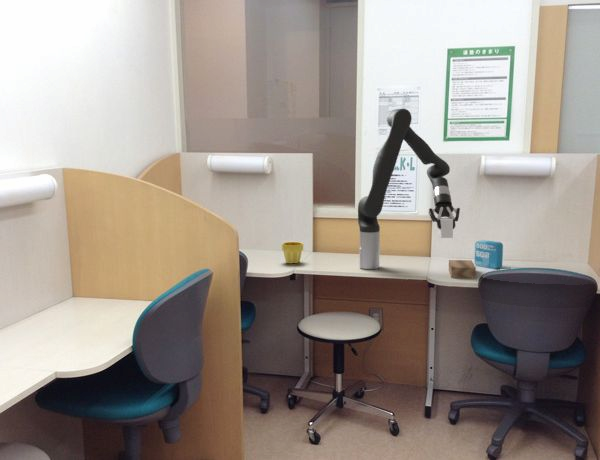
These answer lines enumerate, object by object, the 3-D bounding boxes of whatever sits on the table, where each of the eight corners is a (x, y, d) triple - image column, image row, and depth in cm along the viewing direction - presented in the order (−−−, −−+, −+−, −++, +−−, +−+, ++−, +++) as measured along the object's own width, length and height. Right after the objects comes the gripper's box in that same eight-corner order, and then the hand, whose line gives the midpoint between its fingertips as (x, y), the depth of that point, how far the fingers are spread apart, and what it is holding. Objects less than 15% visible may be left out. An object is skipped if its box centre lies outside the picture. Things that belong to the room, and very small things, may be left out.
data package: (474, 265, 277) (474, 240, 275) (479, 264, 280) (480, 239, 278) (496, 269, 268) (497, 243, 266) (502, 268, 270) (503, 242, 269)
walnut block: (451, 278, 253) (451, 267, 252) (448, 270, 269) (448, 259, 268) (475, 279, 251) (475, 267, 251) (471, 271, 267) (471, 260, 266)
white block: (441, 237, 257) (441, 219, 256) (439, 235, 263) (439, 218, 262) (452, 237, 257) (452, 219, 256) (450, 235, 263) (450, 217, 261)
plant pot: (303, 265, 283) (302, 245, 282) (281, 265, 284) (281, 245, 282) (303, 260, 293) (303, 241, 292) (283, 260, 294) (282, 241, 292)
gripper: (427, 193, 265) (431, 223, 255) (459, 192, 264) (464, 222, 254) (425, 203, 271) (429, 233, 261) (457, 202, 270) (462, 232, 260)
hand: (446, 228), depth 258 cm, fingers closed on white block, 5 cm apart
